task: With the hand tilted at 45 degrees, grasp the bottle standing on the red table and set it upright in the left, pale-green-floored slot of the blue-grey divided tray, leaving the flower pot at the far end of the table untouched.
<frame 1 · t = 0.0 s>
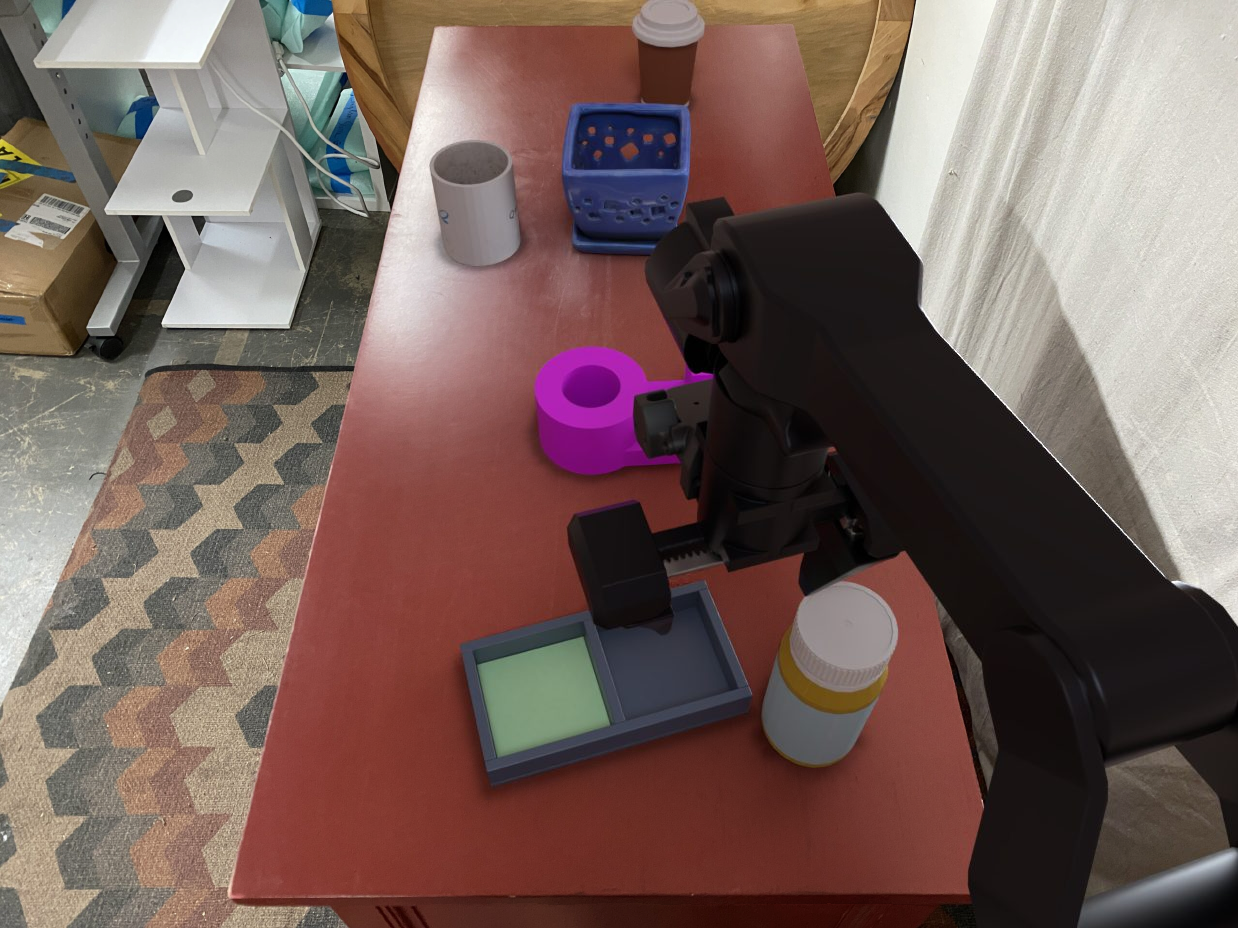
hand: (733, 608, 55), 16 cm above the table, tool pointing down, fingers open, 9 cm apart
tape dispenser: (625, 432, 85), on the table
coffee cup: (665, 102, 122), on the table
blue-grey divided tray: (604, 686, 69), on the table
mug: (485, 232, 104), on the table
bottle: (807, 724, 68), on the table
flower pot: (626, 231, 104), on the table
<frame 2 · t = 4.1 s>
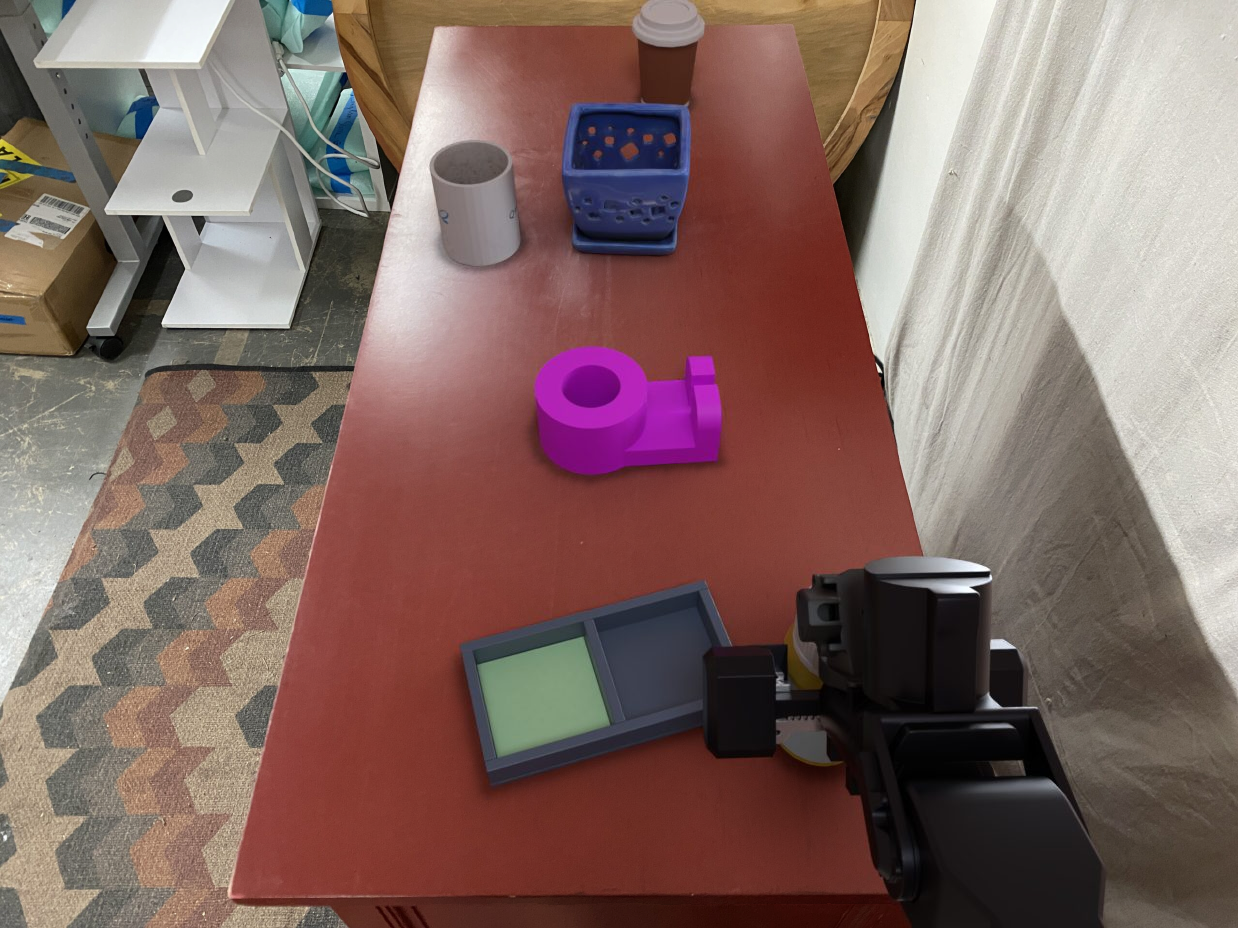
hand: (826, 653, 62), 8 cm above the table, tool tilted 45°, fingers closed on bottle, 7 cm apart
bottle: (816, 724, 67), on the table, touching gripper
everything else where it was.
when the fingers open (8 cm above the table, at t = 10.7 s): bottle stays where it is, resting on blue-grey divided tray.
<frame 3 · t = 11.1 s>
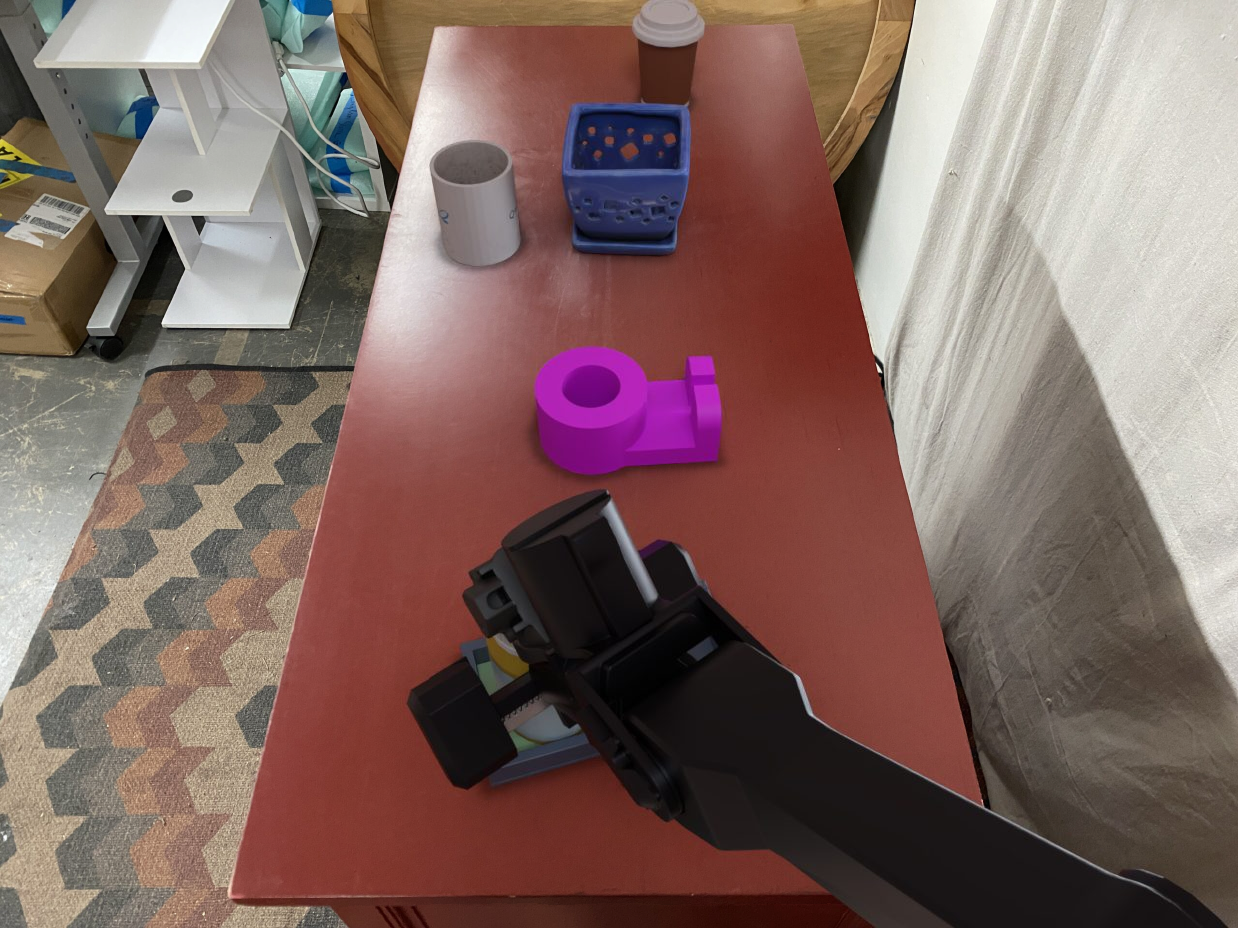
hand: (524, 633, 62), 9 cm above the table, tool tilted 45°, fingers open, 9 cm apart
bottle: (551, 704, 68), point 1 cm above the table, touching gripper, blue-grey divided tray
everything else where it was.
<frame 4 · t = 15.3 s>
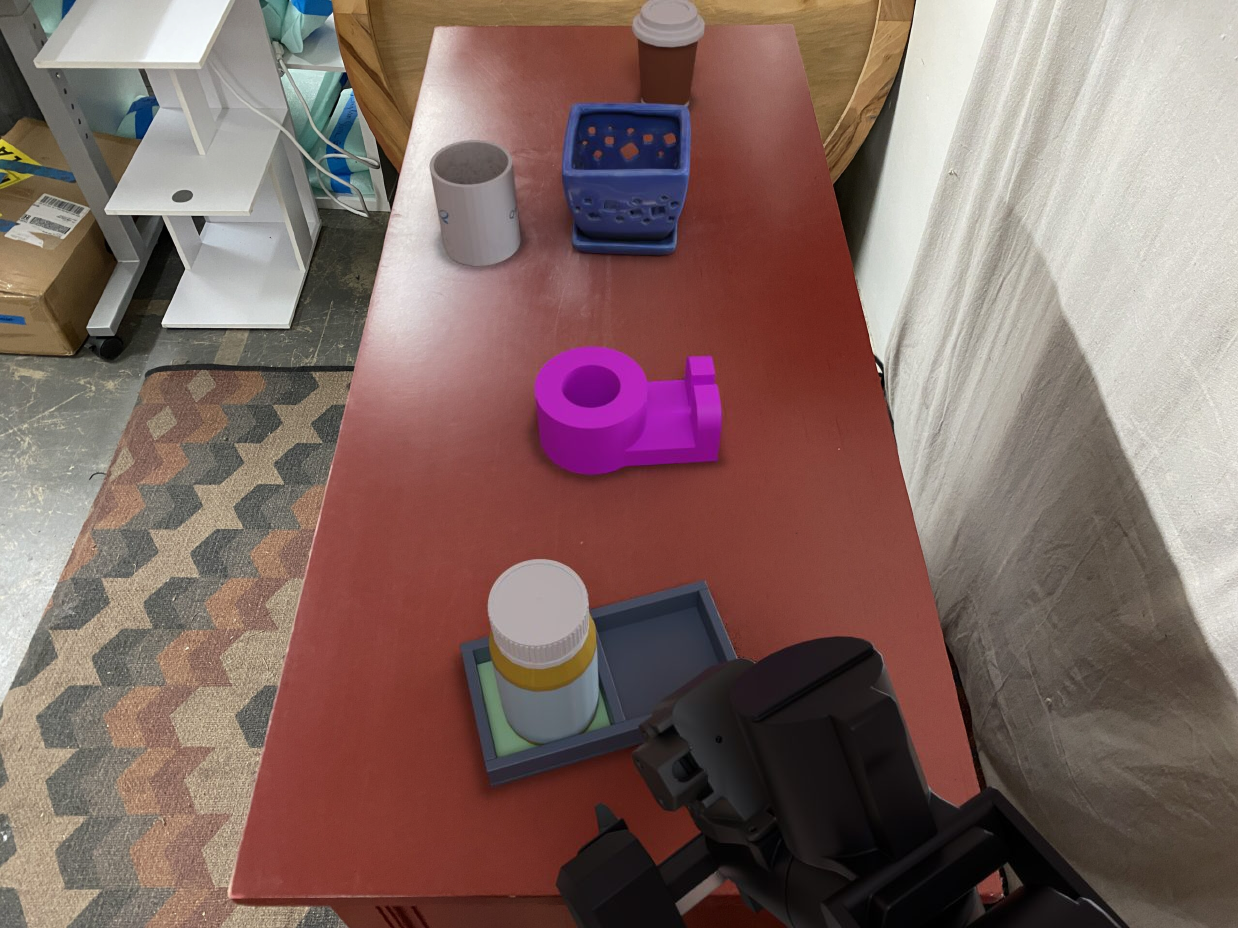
hand: (667, 762, 52), 14 cm above the table, tool tilted 45°, fingers open, 9 cm apart
bottle: (551, 705, 68), point 1 cm above the table, touching blue-grey divided tray
everything else where it was.
at the end: bottle 0.7 cm from the target spot in the blue-grey divided tray, point 0.5 cm above the blue-grey divided tray's base; bottle tilted 0°; flower pot moved 0.2 cm from its start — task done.
